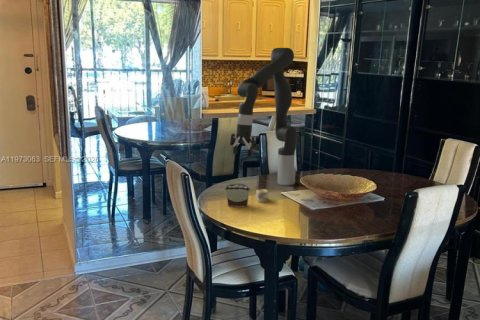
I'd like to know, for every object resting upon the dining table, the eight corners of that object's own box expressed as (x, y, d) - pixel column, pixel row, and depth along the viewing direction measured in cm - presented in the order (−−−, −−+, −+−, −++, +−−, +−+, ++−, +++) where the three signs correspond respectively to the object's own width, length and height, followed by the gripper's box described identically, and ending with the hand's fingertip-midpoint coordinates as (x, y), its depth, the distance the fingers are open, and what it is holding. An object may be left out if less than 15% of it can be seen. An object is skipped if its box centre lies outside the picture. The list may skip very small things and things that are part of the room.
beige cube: (265, 198, 227) (265, 189, 226) (268, 201, 222) (268, 192, 221) (256, 199, 226) (256, 189, 225) (258, 202, 221) (258, 192, 220)
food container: (251, 202, 220) (251, 183, 218) (250, 206, 214) (250, 187, 212) (226, 201, 221) (226, 182, 219) (224, 205, 215) (224, 186, 213)
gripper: (260, 125, 220) (257, 157, 223) (237, 121, 228) (234, 153, 231) (252, 125, 214) (249, 158, 217) (228, 122, 222) (226, 154, 225)
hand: (241, 155), depth 224 cm, fingers open, 8 cm apart
